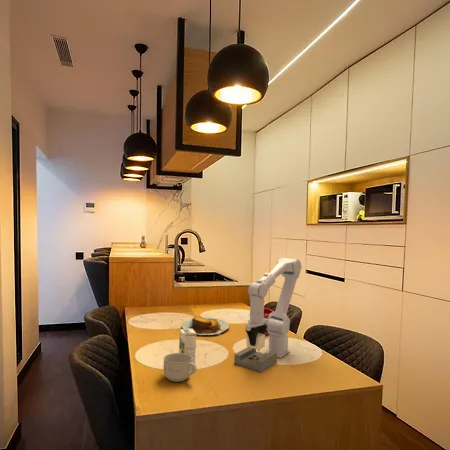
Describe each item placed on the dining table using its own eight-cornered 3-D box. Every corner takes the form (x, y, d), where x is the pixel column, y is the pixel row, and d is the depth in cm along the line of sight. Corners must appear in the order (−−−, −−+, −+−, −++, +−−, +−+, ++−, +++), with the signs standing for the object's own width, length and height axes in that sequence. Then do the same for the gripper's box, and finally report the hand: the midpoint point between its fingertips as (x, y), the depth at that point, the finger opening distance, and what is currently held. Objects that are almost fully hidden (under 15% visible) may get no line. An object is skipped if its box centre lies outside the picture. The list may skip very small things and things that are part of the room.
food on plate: (235, 326, 192) (235, 314, 192) (218, 340, 168) (218, 327, 168) (194, 320, 201) (194, 309, 201) (172, 333, 177) (173, 320, 177)
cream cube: (252, 346, 145) (253, 331, 145) (264, 349, 142) (265, 334, 142) (246, 349, 141) (246, 334, 141) (258, 353, 138) (259, 337, 138)
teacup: (157, 377, 126) (157, 356, 126) (180, 369, 133) (181, 349, 133) (179, 391, 116) (180, 368, 116) (203, 381, 123) (204, 360, 123)
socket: (250, 354, 150) (250, 345, 150) (276, 362, 143) (276, 352, 143) (234, 363, 140) (234, 354, 140) (261, 372, 132) (261, 362, 132)
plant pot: (244, 331, 181) (244, 309, 181) (260, 327, 190) (261, 306, 190) (262, 338, 172) (263, 315, 172) (278, 333, 180) (279, 311, 180)
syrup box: (178, 364, 138) (178, 329, 138) (191, 362, 140) (192, 327, 140) (181, 370, 132) (182, 333, 132) (195, 368, 135) (196, 332, 134)
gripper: (257, 306, 149) (256, 336, 149) (239, 313, 138) (238, 346, 138) (271, 309, 145) (270, 340, 145) (254, 316, 133) (253, 350, 134)
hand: (256, 343), depth 141 cm, fingers closed on cream cube, 5 cm apart
